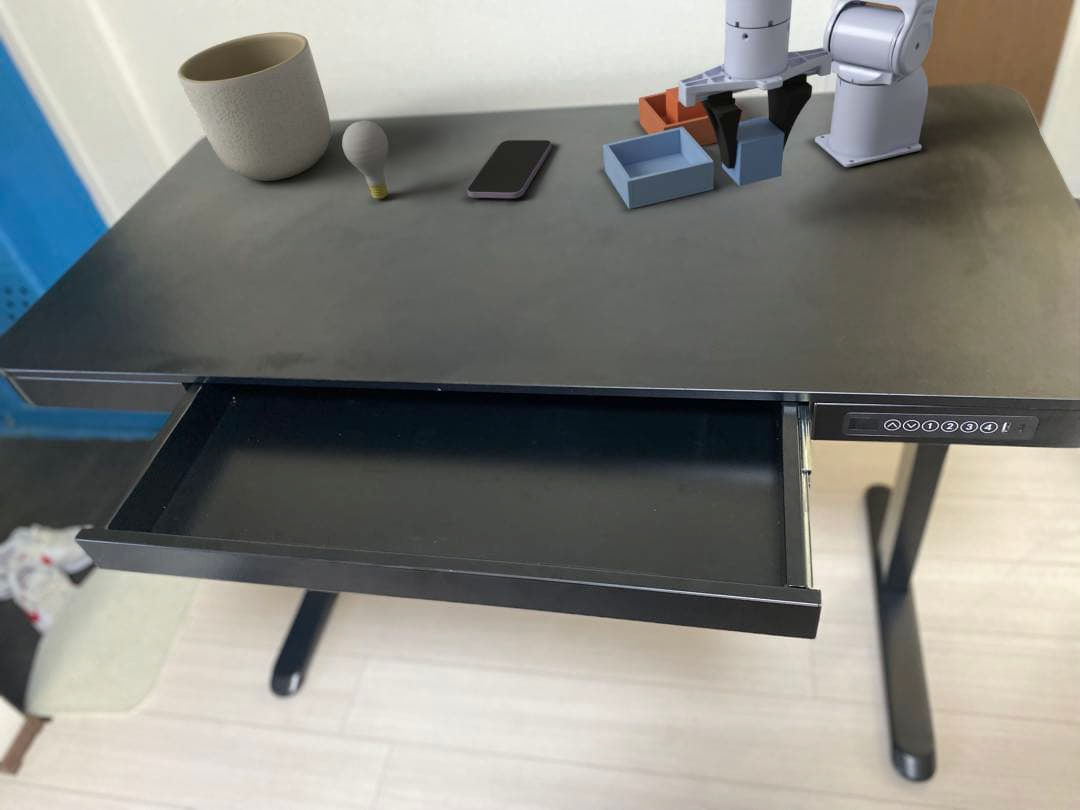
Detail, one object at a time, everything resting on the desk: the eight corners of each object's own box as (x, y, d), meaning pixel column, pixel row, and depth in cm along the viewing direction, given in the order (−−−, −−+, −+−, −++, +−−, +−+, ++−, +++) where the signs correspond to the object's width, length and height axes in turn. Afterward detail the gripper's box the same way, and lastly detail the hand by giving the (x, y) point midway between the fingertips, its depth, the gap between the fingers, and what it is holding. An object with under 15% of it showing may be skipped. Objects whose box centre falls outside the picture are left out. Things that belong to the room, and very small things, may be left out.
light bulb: (410, 189, 102) (389, 114, 95) (387, 211, 98) (364, 134, 92) (375, 186, 104) (353, 111, 97) (352, 206, 101) (327, 131, 94)
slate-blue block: (762, 157, 83) (764, 116, 80) (781, 176, 80) (784, 133, 77) (721, 167, 83) (722, 125, 80) (739, 186, 80) (740, 143, 76)
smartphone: (553, 139, 105) (520, 193, 95) (554, 148, 106) (521, 201, 95) (502, 140, 107) (463, 192, 97) (503, 147, 108) (465, 200, 97)
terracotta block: (698, 115, 105) (698, 81, 102) (711, 128, 102) (711, 94, 99) (666, 123, 105) (665, 89, 102) (677, 136, 101) (677, 102, 98)
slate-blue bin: (683, 153, 99) (683, 126, 97) (713, 189, 91) (714, 161, 89) (604, 171, 98) (602, 144, 96) (629, 209, 91) (627, 181, 88)
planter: (304, 196, 104) (261, 81, 94) (200, 192, 110) (149, 82, 100) (363, 138, 116) (331, 29, 105) (267, 136, 121) (227, 33, 111)
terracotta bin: (711, 106, 108) (712, 81, 105) (741, 136, 100) (742, 109, 98) (639, 123, 107) (638, 97, 105) (664, 154, 99) (663, 127, 97)
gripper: (697, 48, 68) (697, 192, 77) (856, 13, 69) (837, 158, 78) (669, 24, 73) (672, 162, 82) (817, -9, 74) (804, 131, 83)
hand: (750, 158), depth 80 cm, fingers closed on slate-blue block, 4 cm apart
